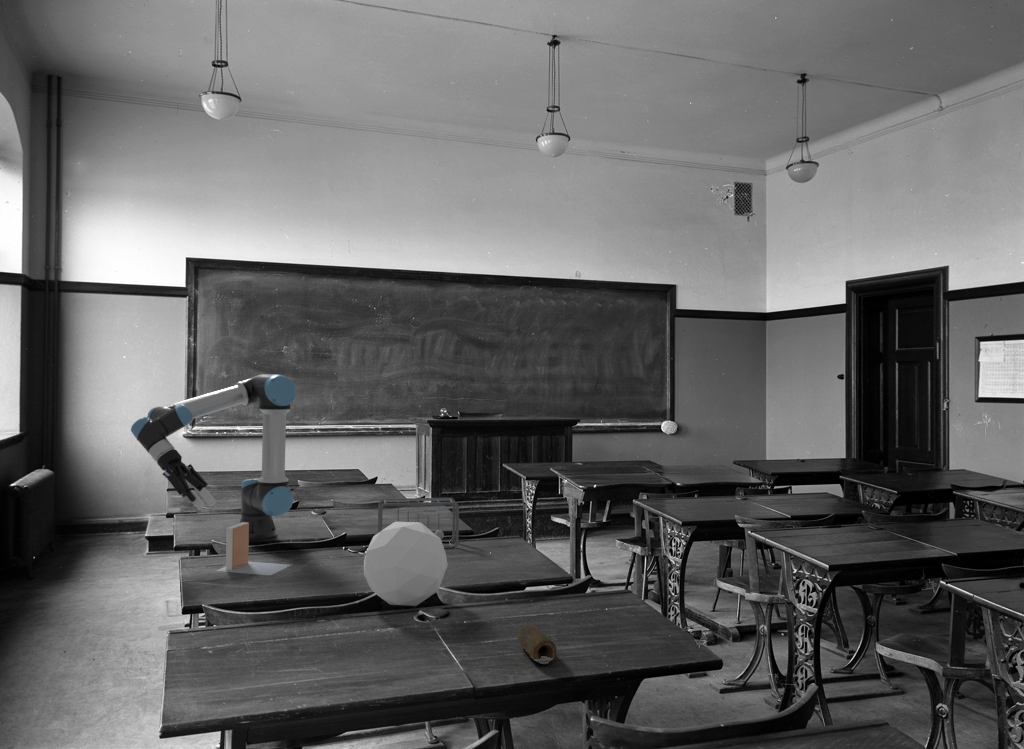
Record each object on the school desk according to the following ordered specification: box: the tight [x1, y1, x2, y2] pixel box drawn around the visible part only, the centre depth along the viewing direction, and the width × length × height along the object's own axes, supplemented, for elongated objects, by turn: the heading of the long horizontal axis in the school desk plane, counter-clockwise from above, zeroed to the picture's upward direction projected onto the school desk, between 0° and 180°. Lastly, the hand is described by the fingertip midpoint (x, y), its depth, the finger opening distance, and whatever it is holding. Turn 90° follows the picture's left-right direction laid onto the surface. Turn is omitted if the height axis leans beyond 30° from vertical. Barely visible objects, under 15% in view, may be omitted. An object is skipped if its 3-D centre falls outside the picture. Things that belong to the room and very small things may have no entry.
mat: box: [215, 560, 292, 577], centre depth 268 cm, size 20×14×1 cm
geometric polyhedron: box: [363, 521, 449, 607], centre depth 233 cm, size 24×25×25 cm
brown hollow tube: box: [517, 624, 557, 659], centre depth 193 cm, size 15×7×7 cm, turn 20°
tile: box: [225, 522, 250, 570], centre depth 269 cm, size 2×10×14 cm, turn 168°
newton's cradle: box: [377, 497, 460, 549], centre depth 305 cm, size 30×10×18 cm, turn 102°
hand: (207, 505), depth 272 cm, fingers open, 6 cm apart
